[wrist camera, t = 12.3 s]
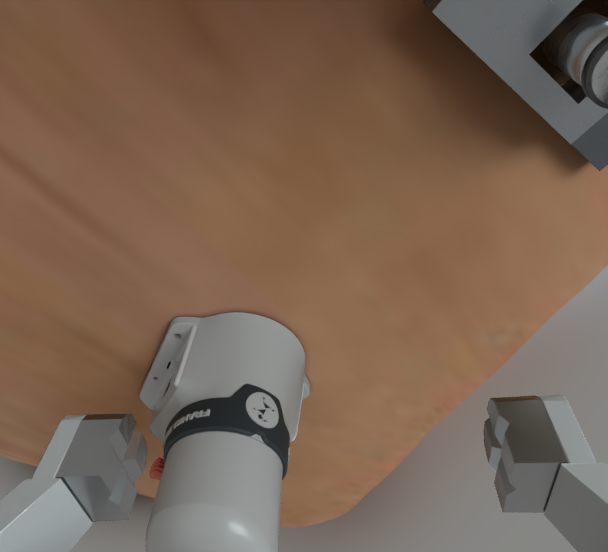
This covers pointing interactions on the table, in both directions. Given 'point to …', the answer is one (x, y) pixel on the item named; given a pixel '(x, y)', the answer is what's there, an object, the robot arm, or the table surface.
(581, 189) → the table surface
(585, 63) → the pin
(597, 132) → the square-holed grey plate
